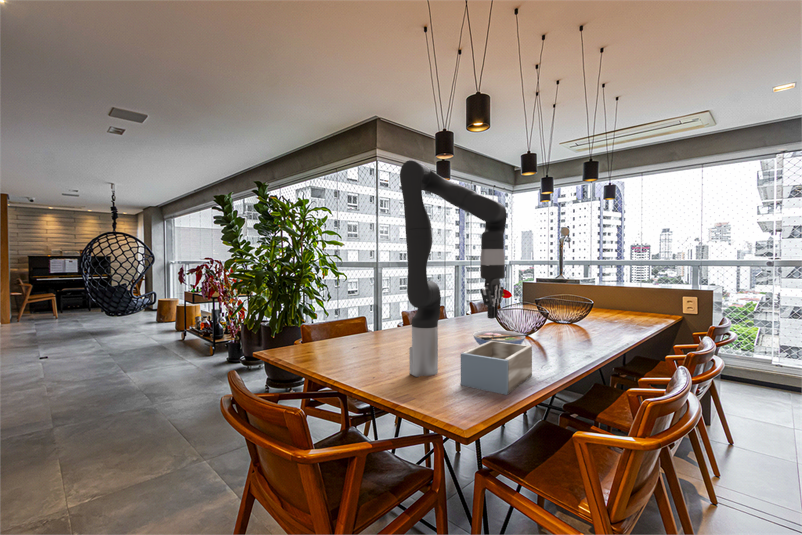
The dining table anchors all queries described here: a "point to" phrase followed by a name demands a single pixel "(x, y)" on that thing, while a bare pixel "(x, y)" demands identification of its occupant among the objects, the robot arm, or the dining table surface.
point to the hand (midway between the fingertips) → (492, 317)
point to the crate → (509, 359)
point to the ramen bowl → (498, 336)
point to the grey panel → (484, 373)
